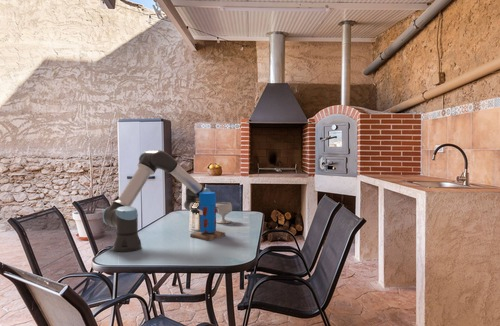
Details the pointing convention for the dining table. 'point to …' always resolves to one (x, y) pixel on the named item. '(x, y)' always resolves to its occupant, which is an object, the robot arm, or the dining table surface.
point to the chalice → (224, 211)
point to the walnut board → (207, 235)
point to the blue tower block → (207, 212)
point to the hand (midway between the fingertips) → (210, 212)
